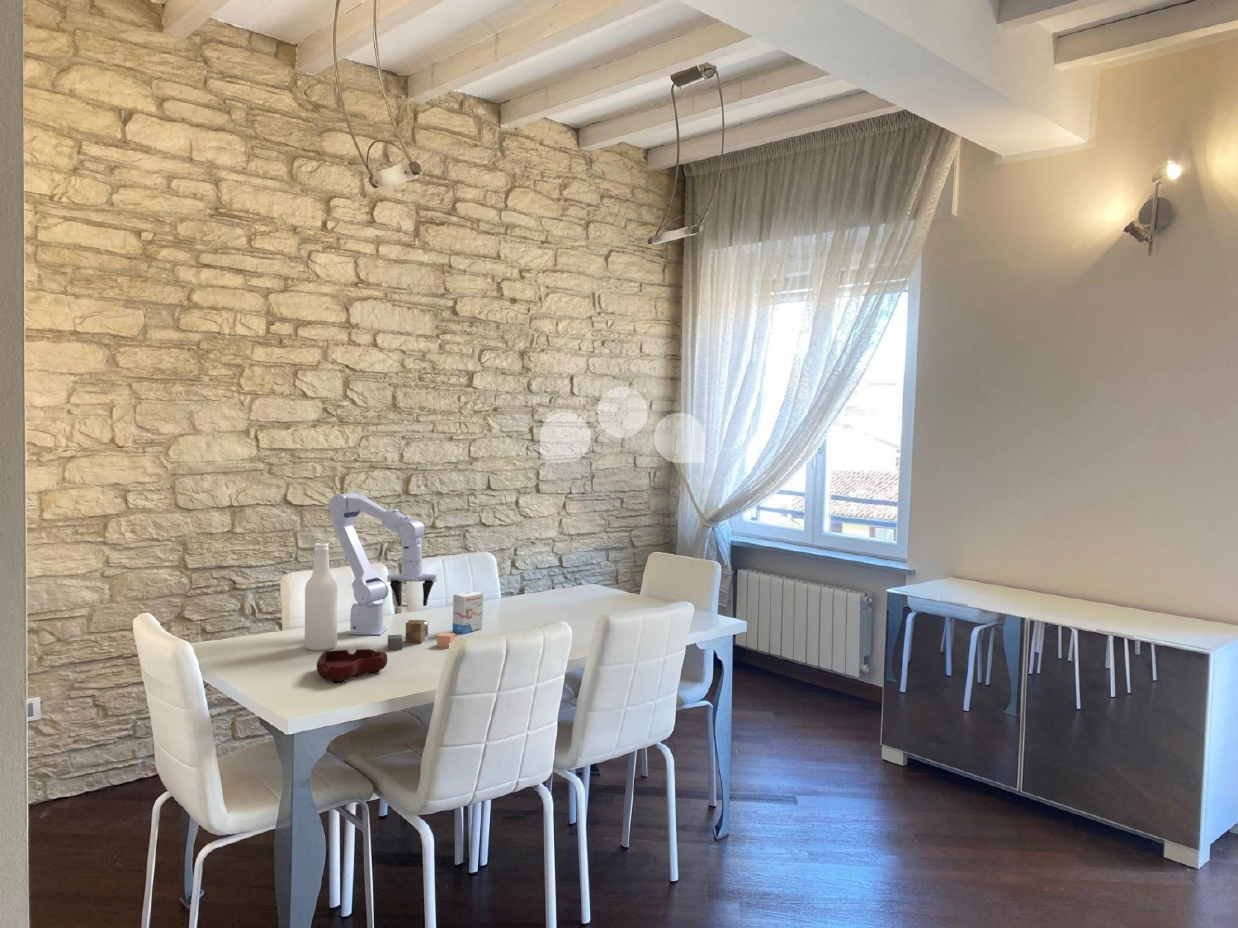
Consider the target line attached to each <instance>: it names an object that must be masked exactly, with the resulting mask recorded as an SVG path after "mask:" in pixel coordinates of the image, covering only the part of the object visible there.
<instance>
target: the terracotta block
mask: <svg viewBox="0 0 1238 928" xmlns="http://www.w3.org/2000/svg"><path fill="white" fill-rule="evenodd" d="M454 639H455V640H456V632H445V631H444V632H440V633H439V634H438V635H436V647H437V648H442V649H443V648H446V649H449V648H448V647H449V643H451V642H452V641H453V640H454Z"/></svg>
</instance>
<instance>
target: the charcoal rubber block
mask: <svg viewBox="0 0 1238 928" xmlns="http://www.w3.org/2000/svg"><path fill="white" fill-rule="evenodd" d="M401 650H403V634H388V635H387V651H401Z"/></svg>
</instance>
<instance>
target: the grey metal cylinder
mask: <svg viewBox="0 0 1238 928" xmlns="http://www.w3.org/2000/svg"><path fill="white" fill-rule="evenodd" d="M428 635H429V621H427V620H425V637H427V636H428Z"/></svg>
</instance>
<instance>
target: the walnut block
mask: <svg viewBox="0 0 1238 928" xmlns="http://www.w3.org/2000/svg"><path fill="white" fill-rule="evenodd" d="M425 621H426V620H425V619H420V620H419V619H409V620H408V621H406V623H405V644H409V643H417V644H416V645H418V644H419V645H421V644H422V643H423V642H424V641H425V639H426V636H425Z"/></svg>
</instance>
